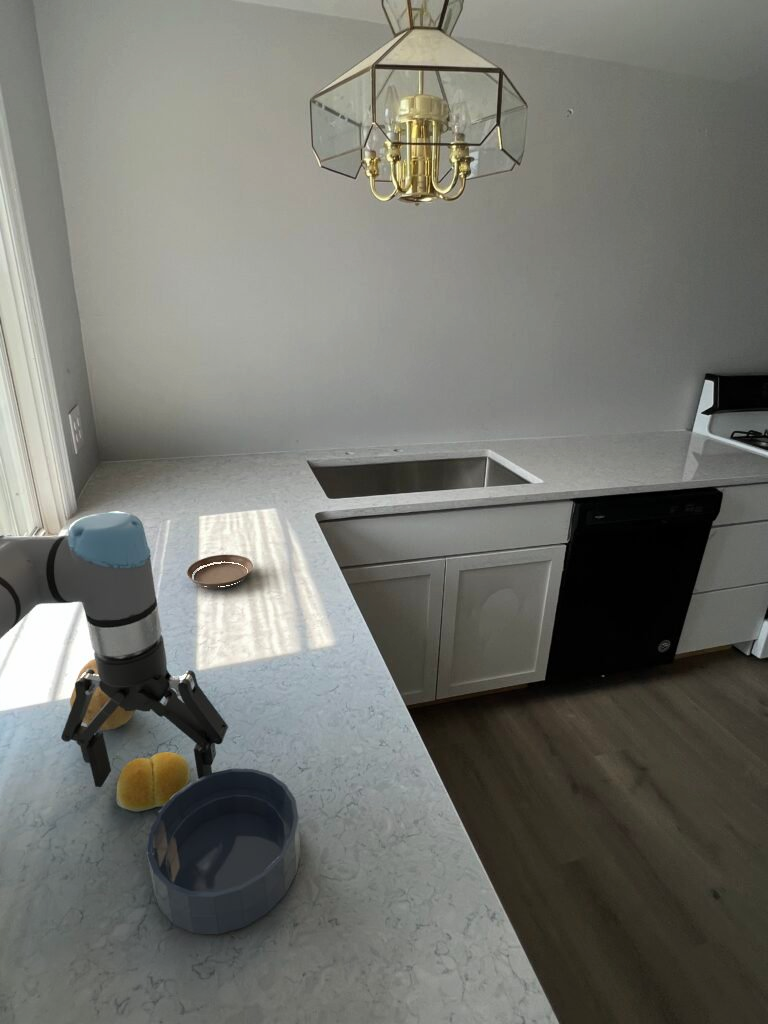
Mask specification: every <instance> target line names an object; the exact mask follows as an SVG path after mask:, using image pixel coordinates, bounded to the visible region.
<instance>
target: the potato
mask: <svg viewBox="0 0 768 1024" xmlns="http://www.w3.org/2000/svg"><path fill="white" fill-rule="evenodd" d="M87 669H92V670H94V672H95V675H98V670H97V666H96V661H95V658H93V659H90V660H89V661H88V662H87V663H86V664H85V665H84V666H83V667H82V668H81V670H80V671H79V673H78V675H77V678H76V680H75V683H76V682H77V680H78V679H79V678H80V677H81V676H82V674H83V673H84V672H85V671H86V670H87ZM75 698H76V691H75V686H74V687H73V690H72V693H71V696H70V699H69V703H70V710H71V709H72V706H73V703H74V700H75ZM109 699H110V698H109V697H108V696H107V695H106V694H105V693H104V692H103V691H102V690H101V689H100V687H98V688H97V689H96V691H95V692H94V693H93V696H92V698H91V701H90V704H89V706H88V709H87V712H86V714H85V717H84V720H83V722H82V724H85V725H86V726H88V724H89V723H90V722H91V721H92V720H93V718H94V717H95V716H96V715H97V714H98V712H99V711H100V710H101V709H102V707H103V706H104V705H105V704H106V703H107V701H108V700H109ZM135 712H136V710H134V711H125V710H124V709H123V708H121V707H119V706H118V707H117V708H116V709H115V711H114V712H113V713H112V714H111V715H110V716H109V717H108V718H107V720H106V721H105V722H104V723H103V724H102V726H101V727H100V728H99V729H98V730H100V731H102V732H104V731H107V730H108V731H109V730H116V729H118V728H119V727H121V726H124V725H125V724H127V723H128V722H129V721H130V720H131V718H132V716H133V715H134V714H135Z"/></svg>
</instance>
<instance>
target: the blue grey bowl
mask: <svg viewBox="0 0 768 1024" xmlns="http://www.w3.org/2000/svg"><path fill="white" fill-rule="evenodd" d="M300 838H301V837H300V819H299V812H298V807H297V800H296V798H295V796H294V795H293V794H292V792H291V790H290V789H289V787H288V785H287V784H286V783H284V782H283V781H282V780H280V779H279V778H278V777H276V776H274V775H273V774H271V773H268V772H265V771H262V770H258V769H256V768H235V767H234V768H229V769H223V770H219V771H212V773H211V774H209V775H206V776H204V777H202V778H200V779H198V778H197V779H195V780H193V781H191V782H190V783H188V784H187V786H186V787H184V788H183V789H181V790H180V791H179V792H177V793H176V794H175V795H174V796H172V798H171V799H170V800H169V801H168V802H167V803H166V805H165V806H162V808H161V809H160V810H159V811H158V813H157V815H156V817H155V819H154V821H153V823H152V824H151V827H150V830H149V833H148V838H147V848H146V856H147V861H148V867H149V874H150V879H151V884H152V889H153V893H154V896H155V899H156V903H157V907H158V909H159V911H161V912H162V913H163V915H164V916H165V917H166V918H167V919H168V920H169V921H170V922H171V923H172V924H173V925H174V926H176V927H179V928H181V929H183V930H185V931H188V932H190V933H192V934H203V935H205V934H206V935H219V934H220V935H221V934H224V933H228V932H231V931H235V930H238V929H242V928H245V927H247V926H249V925H250V924H252V923H253V922H255V921H257V920H259V919H260V918H261V917H262V918H263V917H264V916H265V915H267V914H269V912H270V911H271V910H272V909H273V908H274V907H275V906H276V905H277V904H278V903H279V902H280V901H281V899H282V898H283V897H284V896H285V895H286V894H287V892H288V890H289V888H290V886H291V884H292V882H293V880H294V879H295V877H296V875H297V872H298V868H299V867H298V866H299V861H300V856H301V841H300V840H301V839H300Z"/></svg>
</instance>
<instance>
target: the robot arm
mask: <svg viewBox="0 0 768 1024" xmlns="http://www.w3.org/2000/svg"><path fill="white" fill-rule="evenodd" d="M67 534H68V535H11V534H0V640H1V639H2V637H4V636H6V634H8V632H9V631H10V630H12V629H13V628H14V627H15V626H16V625H18V624H19V622H21V621H22V620H23V619H24V618H25V617H26V616H27V615H28V614H29V613H30V612H31V611H32V610H33V609H34V608H35V607H36V606H38V605H42V604H43V605H44V604H71V603H81V604H82V607H83V610H84V614H85V617H86V624H87V629H88V633H89V637H90V644H91V648H92V650H93V651H94V653H93V655H94V656H93V657H94V659H95V661H96V666H97V670H98V675H95V672H94V670H92V669H87V670H86V671H85V672H84V673H83V674H82V676H81V677H80V678H79V679H78V680H77V679H76V680H77V682H76V681H75V683H74V687H75V691H76V698H75V700H74V703H73V706H72V709H71V708H70V712H69V714H68V717H67V719H66V722H65V725H64V728H63V731H62V734H61V735H60V736H61V737H60V738H61V740H62V741H63V742H68V743H69V742H71V741H75V742H76V744H77V745H78V746H80V747H79V748H80V751H81V755H82V759H83V762H84V763H86V764H89V765H90V770H91V774H92V778H93V779H92V780H93V783H94V786H95V788H102V787H103V785H104V784H105V782H106V780H107V779H108V777H109V776H110V774H111V772H112V768H111V762H110V759H109V754H108V749H107V745H106V741H105V736H104V731H98V730H99V728H100V727H101V726H102V724H103V723H104V722H105V721H106V720H107V718H108V717H109V716H110V715H111V714H112V713H113V712H114V711H115V709H116V708H117V707H118V706H119V707H121V708H123V709H124V710H125V711H134V710H135V711H140V712H154V713H155V714H156V715H157V716H158V717H161V718H162V717H164V718H165V719H167V720H168V721H169V722H170V723H171V724H173V726H175V727H176V728H178V729H179V731H181V732H182V733H184V734H185V735H186V736H187V737H188V738H189V739H190V740H192V742H194V743H195V746H194V747H193V754H194V761H195V768H196V774H197V779H200V778H202V777H204V776H206V775H209V774H211V773H213V769H212V765H213V763H214V761H215V758H216V755H217V749H216V745H221V744H222V743H223V741H224V739H225V737H226V734H227V731H228V729H229V726H228V724H227V722H226V721H225V719H223V717H222V716H221V714H220V713H219V711H217V709H216V708H215V706H214V705H213V703H212V702H211V701H210V699H209V698H208V697H207V695H206V694H205V693H204V691H203V690H202V689H201V687H200V686H199V684H198V681H197V676H196V673H195V671H193V670H190V669H189V670H186V671H185V672H184V674H182V675H171V673H170V672H169V670H168V667H167V666H168V663H167V654H166V647H165V641H164V637H163V635H162V631H163V630H162V624H161V618H160V612H159V606H158V599H157V595H156V590H155V582H154V574H153V568H152V561H151V556H152V555H151V549H150V547H149V544H148V540H147V536H146V532H145V527H144V524H143V522H142V520H141V519H140V518H139V517H138V516H137V515H134V514H133V513H130V512H125V511H106V512H103V513H94V514H93V513H92V514H90V515H86V516H83V517H80V518H79V519H77V520H74V522H73V523H71V524H70V526H69V528H68V530H67ZM98 687H100V689H101V690H102V691H103V692H104V693H105V694H106V695H107V696H108V697H109V698H110V699H109V700H108V701H107V703H106V704H105V705H104V706H103V707H102V709H101V710H100V711H99V712H98V714H97V715H96V716H95V717H94V718H93V720H92V721H91V722H90V723H89V724H88V725H86V726H84V725H83V720H84V717H85V714H86V712H87V709H88V706H89V704H90V701H91V698H92V696H93V693H94V692H95V691H96V689H97V688H98ZM179 697H180V698H181V699H180V698H179ZM163 698H165V699H164V701H163V703H162V702H161V701H162V700H163Z"/></svg>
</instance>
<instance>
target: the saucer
mask: <svg viewBox="0 0 768 1024" xmlns="http://www.w3.org/2000/svg"><path fill="white" fill-rule="evenodd" d="M221 561H222V562H224V561H225V562H234V563H239V564H241V565H243V566H244V567H243V566H241V565H238V564H232V563H221V564H214V565H210V566H207V567H204V568H202V569H200V570H199V571H197V572H196V573H195V575H194V580H193V579H192V574H193V572H194V571H195V570H196V569H197V568H199V567H200V566H203V565H207V564H210V563H213V562H221ZM245 567H246V568H247V569H248V573H247V569H246V568H245ZM253 568H254V564H253V561H252V560H250V559H249V558H247V557H245V556H242V555H238V554H216V555H210V556H207V557H204V558H200V559H198V560H197V561H195V562H193V563H192V564H191V565H189V566H188V568H187V570H186V576H187V578H188V579H190V581H192V582H193V583H195V584H196V585H198V584H199V585H198V586H200V585H201V586H200V587H203V588H205V589H211V590H214V589H215V590H217V589H219V590H221V589H226V588H231V587H234V586H236V585H238V584H240V583H241V582H243V581H244V580H245V579H246V578H247V577H248V576H249V575H250V573H251V572H252V570H253ZM243 579H244V580H243ZM241 580H242V581H241ZM239 581H240V582H239ZM237 582H238V583H237ZM234 583H236V584H234ZM231 584H233V585H231ZM226 585H230V586H226ZM204 586H207V587H204ZM218 586H219V587H218ZM220 586H225V587H220Z"/></svg>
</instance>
